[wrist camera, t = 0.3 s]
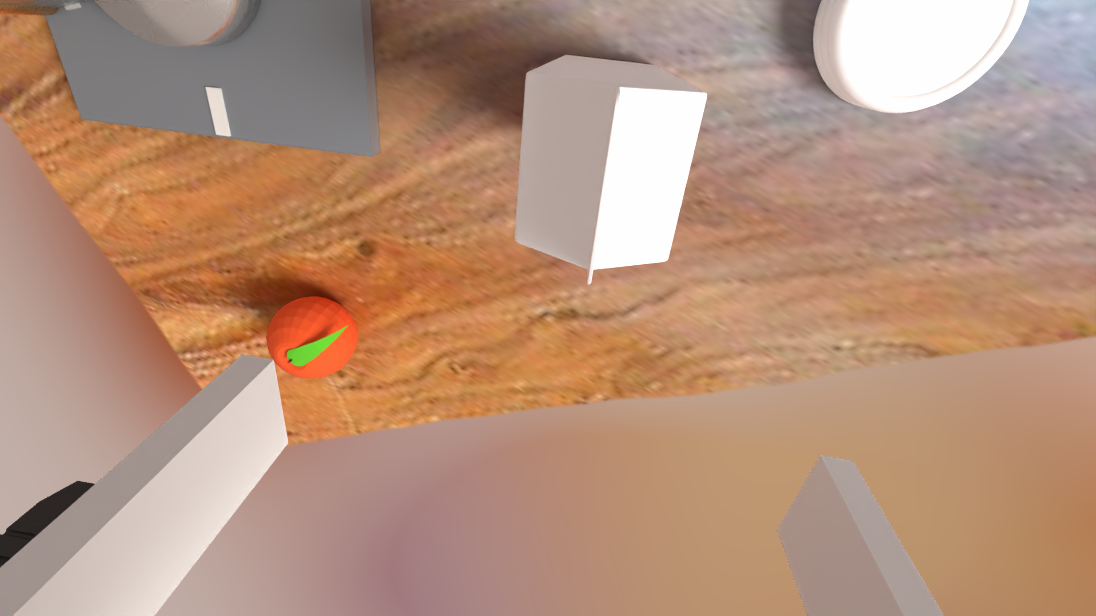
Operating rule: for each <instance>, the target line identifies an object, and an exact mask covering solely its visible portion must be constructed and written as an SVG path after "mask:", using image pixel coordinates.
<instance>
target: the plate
mask: <svg viewBox="0 0 1096 616" xmlns="http://www.w3.org/2000/svg"><path fill="white" fill-rule="evenodd" d="M46 19H47V22H48V25H49V28H50V30H51V33H52V36H53V39H54V42H55V45H56V48H57V51H58V53H59V56H60V59H61V62H62V65H63V68H64V71H65V73H66V76H67V79H68V82H69V85H70V88H71V91H72V94H73V96H74V99H75V102H76V105H77V108H78V111H79V114H80V116H81V119H82V120H90V121H98V122H105V123H113V124H121V125H129V126H136V127H144V128H152V129H160V130H167V131H175V132H183V133H191V134H198V135H206V136H214V137H222V138H229V139H237V140H245V141H253V142H260V143H268V144H276V145H284V146H291V147H299V148H307V149H315V150H322V151H330V152H338V153H346V154H353V155H361V156H369V157H373V156H375V155H377V154H379V153H380V141H379V126H378V110H377V95H376V80H375V64H374V49H373V34H372V19H371V3H370V0H261V3H260V7H259V10H258V12H257V15H256V17H255V19H254V21H253V22H252V24H251V26H250V27H249V28H248V29H247V30H246V31H245V33H243V34H242V35H241V36H240V37H238V38H237V39H235V40H233V41H231V42H229V43H226V44H222V45H215V46H180V47H178V46H165V45H160V44H156V43H153V42H150V41H147V40H145V39H143V38H141V37H139V36H137V35H135V34H133V33H132V32H130V31H128V30H127V29H125V28H124V27H123V26H121V25H120V24H119V23H117V22H116V21H115V20H114V19H113V18H111V17H110V16H109V15H108V14H107V13H106V12H105V11H104V10H103V9H102V8H101V7H100V6H99V5H98V4H97V3H96V2H95V0H90V1H86V2H81V3H77V4H73V5H68V6H64V7H60V8H59V10H58V11H57V12H56V13H55V14H54V15H50V16H46Z"/></svg>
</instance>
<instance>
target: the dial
mask: <svg viewBox="0 0 1096 616" xmlns="http://www.w3.org/2000/svg"><path fill="white" fill-rule="evenodd" d="M86 1H90V0H0V14H19V15H44V16H50V15H54V14H55V13H56V12H57V11H58V10H59V8H60V7H64V6H68V5H73V4H77V3H81V2H86ZM95 2H96V3H97V4H98V5H99V6H100V7H101V8H102V9H103V10H104V11H105V12H106V13H107V14H108V15H109V16H110V17H111V18H113V19H114V20H115V21H116V22H117V23H119V24H120V25H121V26H123V27H124V28H125V29H127V30H128V31H130V32H132V33H133V34H135V35H137V36H139V37H141V38H143V39H145V40H147V41H150V42H153V43H156V44H160V45H165V46H178V47H180V46H215V45H222V44H226V43H229V42H231V41H233V40H235V39H237V38H238V37H240V36H241V35H242V34H243V33H245V31H246V30H247V29H248V28H249V27H250V26H251V24H252V22H253V21H254V19H255V17H256V15H257V12H258V10H259V7H260V3H261V0H95Z"/></svg>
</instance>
